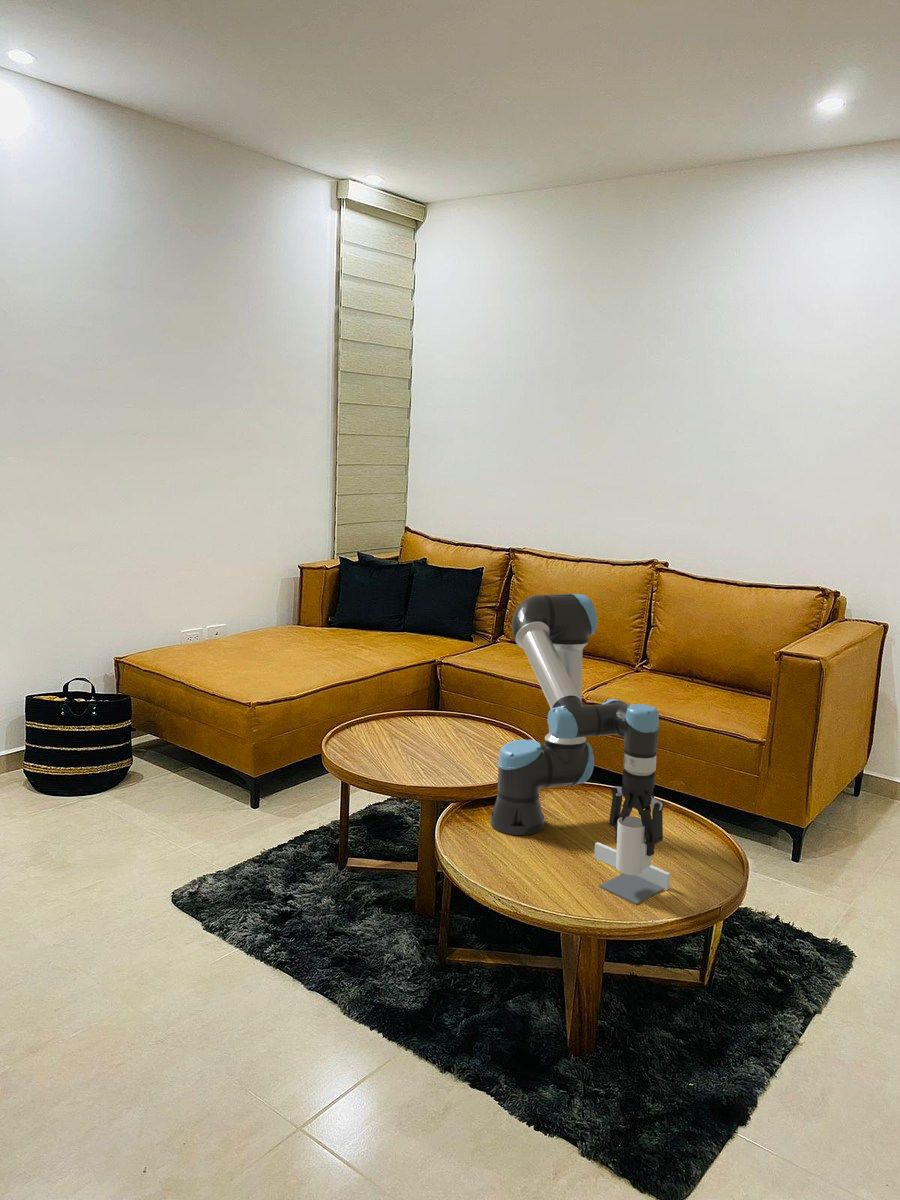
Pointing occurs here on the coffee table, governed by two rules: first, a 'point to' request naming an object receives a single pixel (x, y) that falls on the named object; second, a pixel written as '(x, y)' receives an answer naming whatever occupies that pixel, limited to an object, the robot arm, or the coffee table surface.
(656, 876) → the wall
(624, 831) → the mug
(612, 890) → the mat
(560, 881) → the coffee table surface
